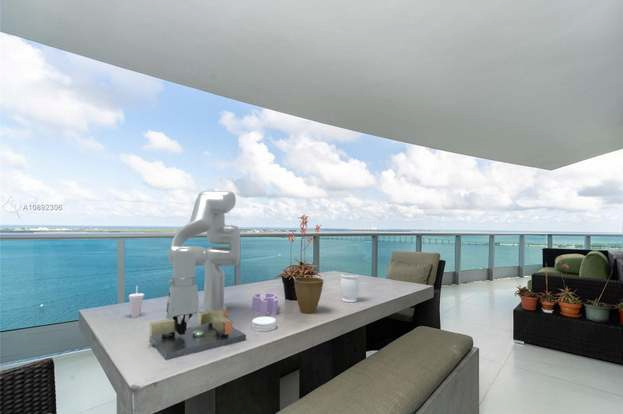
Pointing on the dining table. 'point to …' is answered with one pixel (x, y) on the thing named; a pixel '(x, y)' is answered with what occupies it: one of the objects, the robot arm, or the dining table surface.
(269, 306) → the lavender lobed block
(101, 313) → the dining table surface
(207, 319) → the beige rectangular block
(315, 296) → the plant pot
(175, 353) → the plate
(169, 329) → the olive and orange block
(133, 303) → the smoothie
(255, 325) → the white round disc
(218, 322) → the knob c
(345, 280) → the jar
